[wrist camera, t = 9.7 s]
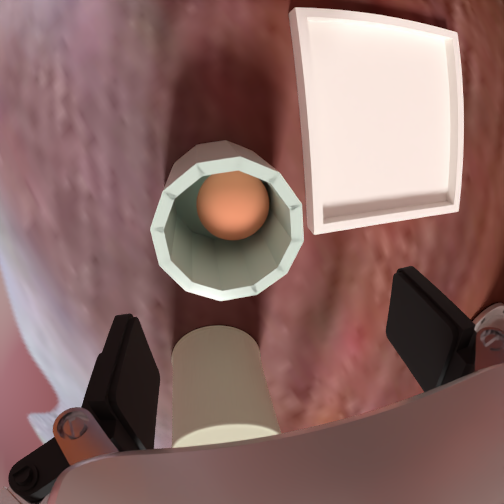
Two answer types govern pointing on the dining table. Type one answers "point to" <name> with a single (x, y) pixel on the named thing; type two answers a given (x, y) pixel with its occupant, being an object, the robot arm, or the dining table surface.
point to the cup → (216, 249)
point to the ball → (232, 205)
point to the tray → (377, 117)
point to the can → (219, 389)
